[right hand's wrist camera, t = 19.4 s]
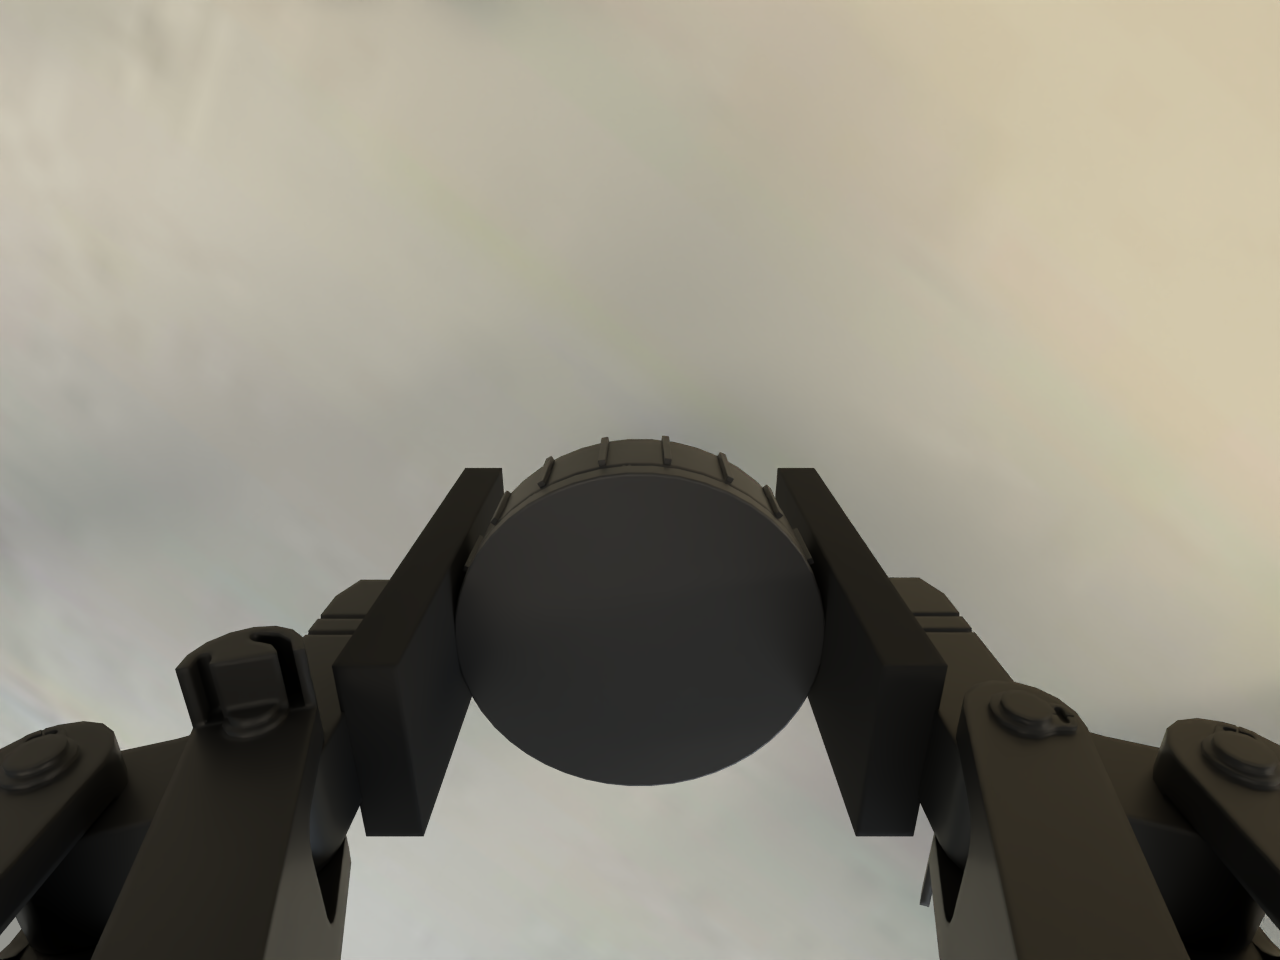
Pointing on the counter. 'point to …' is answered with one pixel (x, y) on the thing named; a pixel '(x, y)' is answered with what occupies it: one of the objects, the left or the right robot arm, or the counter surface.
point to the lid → (639, 614)
